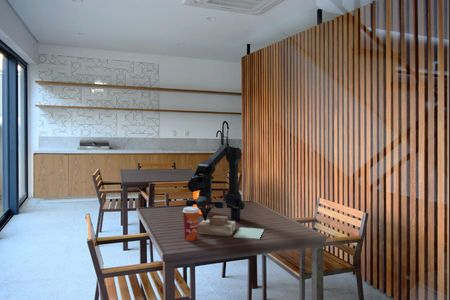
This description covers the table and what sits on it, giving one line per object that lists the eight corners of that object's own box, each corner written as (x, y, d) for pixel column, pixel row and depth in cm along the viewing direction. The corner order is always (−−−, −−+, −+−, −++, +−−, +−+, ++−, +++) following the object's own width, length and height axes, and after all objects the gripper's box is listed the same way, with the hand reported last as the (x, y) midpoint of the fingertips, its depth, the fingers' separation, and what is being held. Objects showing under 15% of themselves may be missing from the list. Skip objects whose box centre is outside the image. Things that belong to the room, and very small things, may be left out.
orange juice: (208, 214, 213) (208, 180, 212) (193, 214, 213) (193, 179, 212) (209, 211, 221) (209, 178, 220) (194, 211, 221) (194, 178, 220)
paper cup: (188, 242, 160) (188, 211, 159) (179, 238, 166) (179, 207, 165) (203, 239, 164) (203, 208, 163) (194, 235, 170) (194, 205, 170)
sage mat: (240, 228, 183) (240, 227, 183) (264, 230, 180) (264, 229, 180) (233, 237, 168) (233, 236, 168) (259, 239, 165) (259, 238, 165)
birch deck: (204, 226, 185) (204, 219, 185) (235, 229, 182) (235, 221, 181) (197, 233, 174) (197, 225, 173) (230, 235, 170) (230, 227, 170)
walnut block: (214, 220, 182) (214, 215, 182) (228, 221, 181) (228, 216, 181) (209, 225, 174) (209, 219, 174) (223, 226, 172) (223, 220, 172)
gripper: (181, 191, 172) (181, 223, 173) (220, 192, 168) (219, 226, 169) (189, 187, 183) (189, 218, 184) (225, 188, 179) (225, 220, 180)
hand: (205, 220), depth 179 cm, fingers closed
